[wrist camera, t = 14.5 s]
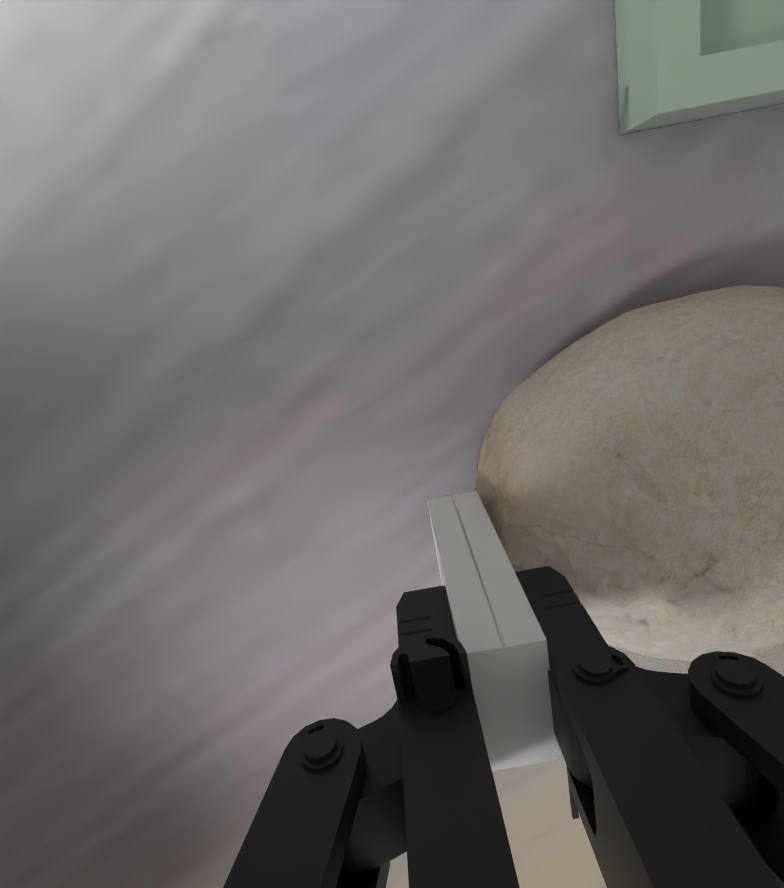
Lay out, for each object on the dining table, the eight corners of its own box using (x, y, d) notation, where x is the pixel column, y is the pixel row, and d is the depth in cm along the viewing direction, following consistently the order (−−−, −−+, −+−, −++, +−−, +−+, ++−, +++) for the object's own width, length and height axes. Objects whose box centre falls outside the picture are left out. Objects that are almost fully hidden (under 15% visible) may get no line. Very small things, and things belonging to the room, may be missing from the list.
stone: (757, 380, 21) (994, 256, 14) (830, 643, 19) (1178, 669, 11) (442, 385, 20) (514, 245, 12) (470, 673, 17) (587, 728, 9)
